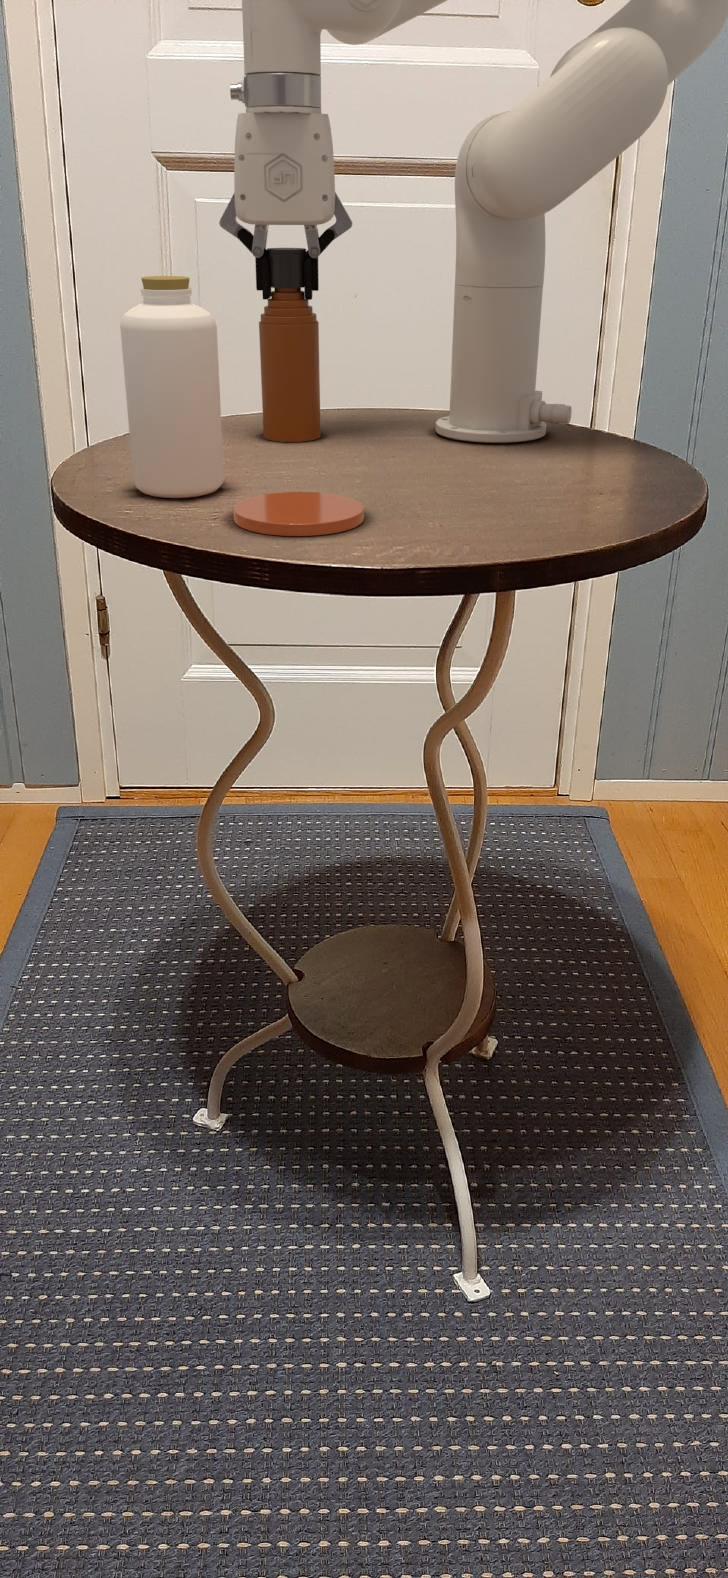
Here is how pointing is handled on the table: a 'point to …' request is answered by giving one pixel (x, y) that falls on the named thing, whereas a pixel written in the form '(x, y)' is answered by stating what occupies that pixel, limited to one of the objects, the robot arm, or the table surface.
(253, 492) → the table surface
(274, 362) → the sauce bottle
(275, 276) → the cap
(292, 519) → the orange round coaster
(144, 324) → the potion bottle
